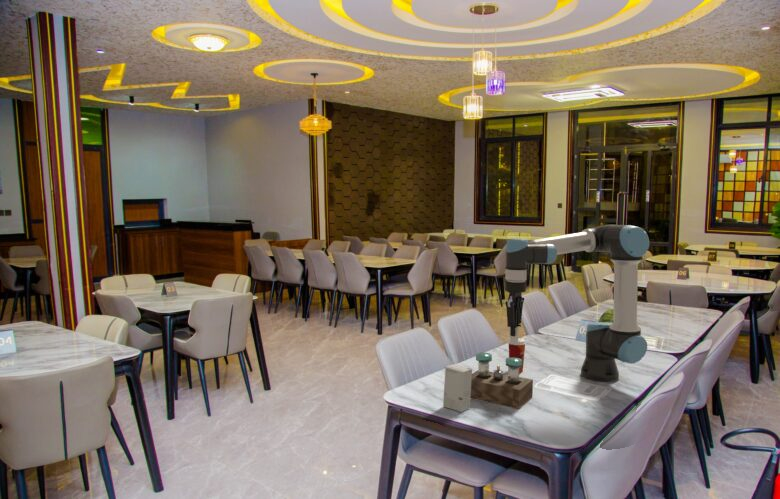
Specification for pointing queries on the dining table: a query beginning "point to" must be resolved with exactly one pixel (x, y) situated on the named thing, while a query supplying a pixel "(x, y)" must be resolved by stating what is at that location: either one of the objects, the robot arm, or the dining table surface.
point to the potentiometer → (498, 374)
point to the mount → (501, 390)
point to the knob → (483, 364)
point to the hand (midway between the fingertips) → (513, 344)
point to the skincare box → (457, 387)
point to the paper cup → (517, 351)
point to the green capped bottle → (513, 370)
